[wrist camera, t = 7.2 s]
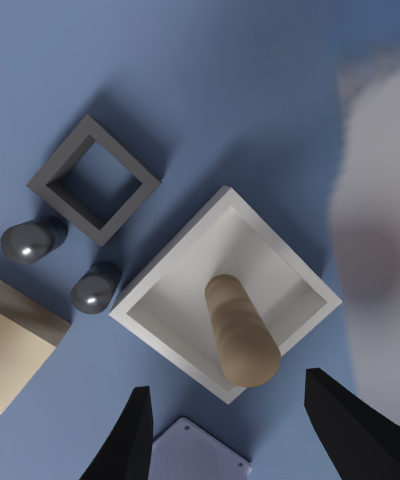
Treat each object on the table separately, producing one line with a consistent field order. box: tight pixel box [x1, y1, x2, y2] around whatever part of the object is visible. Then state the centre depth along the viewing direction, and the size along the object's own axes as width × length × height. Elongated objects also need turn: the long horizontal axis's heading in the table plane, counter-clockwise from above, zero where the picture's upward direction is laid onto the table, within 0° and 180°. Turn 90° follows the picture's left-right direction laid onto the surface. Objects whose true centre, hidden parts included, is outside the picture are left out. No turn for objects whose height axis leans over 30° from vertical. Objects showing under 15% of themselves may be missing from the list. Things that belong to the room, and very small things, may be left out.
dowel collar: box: [26, 114, 162, 247], centre depth 18 cm, size 6×6×2 cm
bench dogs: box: [1, 216, 121, 314], centre depth 18 cm, size 7×2×4 cm, turn 46°
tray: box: [109, 185, 343, 405], centre depth 20 cm, size 12×12×3 cm
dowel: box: [205, 274, 281, 388], centre depth 17 cm, size 3×3×8 cm
